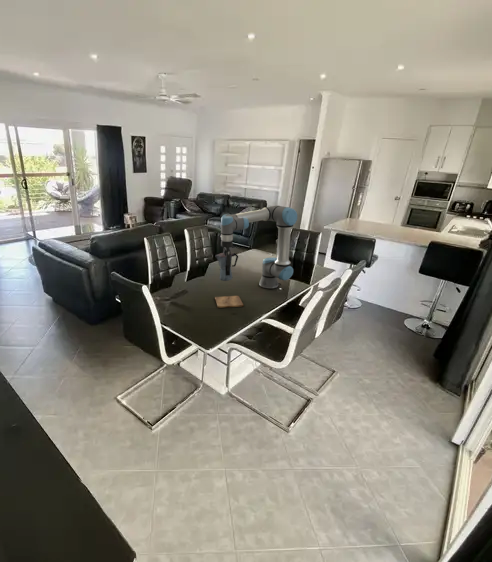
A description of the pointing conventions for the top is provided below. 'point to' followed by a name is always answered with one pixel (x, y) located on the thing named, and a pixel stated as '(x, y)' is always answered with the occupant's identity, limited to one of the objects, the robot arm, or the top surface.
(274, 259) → the robot arm
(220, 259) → the moka pot
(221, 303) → the cork board
